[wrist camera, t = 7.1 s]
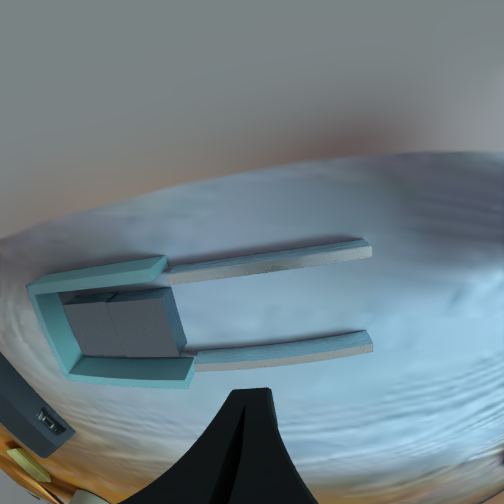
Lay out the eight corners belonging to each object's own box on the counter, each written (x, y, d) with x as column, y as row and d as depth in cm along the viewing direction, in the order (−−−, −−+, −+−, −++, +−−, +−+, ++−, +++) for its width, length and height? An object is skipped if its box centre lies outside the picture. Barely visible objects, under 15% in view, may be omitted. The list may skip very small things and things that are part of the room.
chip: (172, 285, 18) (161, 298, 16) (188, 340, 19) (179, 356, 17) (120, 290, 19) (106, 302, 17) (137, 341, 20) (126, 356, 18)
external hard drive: (56, 449, 27) (44, 466, 24) (-30, 357, 25) (-46, 369, 21) (80, 428, 24) (65, 450, 21) (-25, 311, 22) (-46, 325, 18)
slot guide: (363, 238, 16) (371, 245, 14) (366, 338, 18) (372, 351, 16) (175, 265, 17) (166, 274, 16) (201, 357, 19) (195, 371, 17)
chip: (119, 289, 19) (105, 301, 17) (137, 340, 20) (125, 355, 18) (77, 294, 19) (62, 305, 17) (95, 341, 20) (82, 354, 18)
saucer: (9, 444, 31) (4, 450, 29) (20, 441, 29) (14, 448, 27) (41, 474, 33) (37, 481, 31) (56, 475, 31) (51, 482, 29)
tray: (165, 255, 17) (149, 268, 15) (197, 366, 19) (187, 388, 17) (46, 274, 19) (26, 285, 16) (81, 363, 21) (66, 380, 18)
